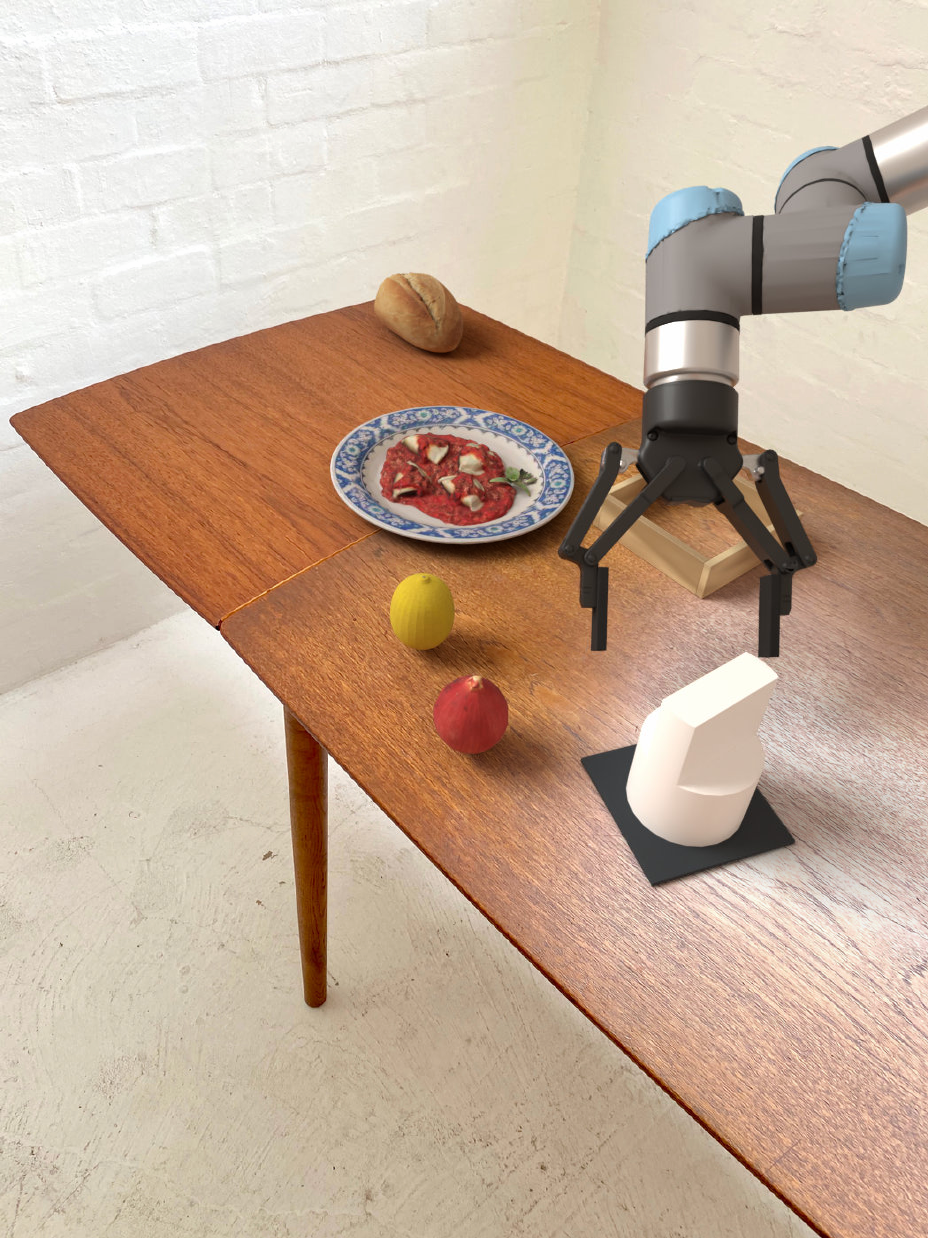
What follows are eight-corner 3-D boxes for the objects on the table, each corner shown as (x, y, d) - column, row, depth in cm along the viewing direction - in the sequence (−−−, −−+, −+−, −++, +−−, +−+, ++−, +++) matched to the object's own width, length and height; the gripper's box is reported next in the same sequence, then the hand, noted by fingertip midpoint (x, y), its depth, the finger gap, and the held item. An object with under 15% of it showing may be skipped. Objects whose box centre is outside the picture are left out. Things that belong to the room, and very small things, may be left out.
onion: (416, 744, 78) (419, 673, 72) (467, 708, 81) (474, 638, 76) (468, 787, 75) (474, 716, 69) (519, 749, 78) (529, 678, 73)
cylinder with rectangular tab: (686, 867, 70) (726, 759, 62) (601, 784, 75) (628, 674, 67) (768, 810, 74) (816, 701, 66) (683, 735, 80) (717, 626, 72)
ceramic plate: (288, 521, 98) (287, 497, 96) (385, 403, 117) (386, 380, 115) (534, 586, 93) (538, 561, 91) (595, 451, 112) (599, 428, 110)
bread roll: (419, 369, 124) (421, 308, 119) (355, 323, 132) (354, 265, 127) (479, 350, 129) (483, 292, 123) (413, 307, 137) (415, 251, 132)
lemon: (381, 661, 84) (381, 590, 79) (399, 620, 89) (401, 550, 83) (443, 674, 84) (448, 604, 78) (459, 632, 88) (464, 562, 82)
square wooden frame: (684, 479, 109) (692, 448, 106) (792, 544, 101) (804, 513, 98) (592, 524, 101) (598, 492, 99) (701, 599, 93) (711, 566, 91)
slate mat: (711, 727, 81) (712, 724, 81) (794, 843, 73) (795, 840, 72) (580, 760, 77) (580, 757, 77) (651, 887, 69) (652, 883, 69)
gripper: (823, 409, 83) (819, 660, 82) (530, 395, 82) (521, 649, 81) (863, 383, 75) (859, 659, 74) (541, 367, 74) (532, 646, 73)
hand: (683, 654), depth 77 cm, fingers open, 13 cm apart
